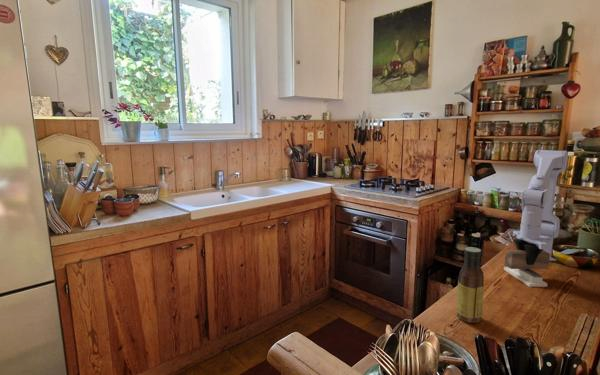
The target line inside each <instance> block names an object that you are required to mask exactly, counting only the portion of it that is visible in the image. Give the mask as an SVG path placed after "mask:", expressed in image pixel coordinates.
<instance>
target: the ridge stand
mask: <svg viewBox="0 0 600 375" xmlns="http://www.w3.org/2000/svg"><path fill="white" fill-rule="evenodd" d="M503 270H504V271H506V272H507V273H508V274H510V275H511V276H513V277H514V278H515V279H517V280H518V281H520V282H522V284H524V285H526V286H528V287H530V288H531V287H533V288H534V287H536V288H541V287H543V288H545V287H547V288H548V283H547V282H545V281H544V280H543V276H542V275H541V274H540V273H537V272H536V271H534V269H510V268H509V267H507V266H503Z"/></svg>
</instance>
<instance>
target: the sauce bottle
mask: <svg viewBox="0 0 600 375" xmlns="http://www.w3.org/2000/svg"><path fill="white" fill-rule="evenodd" d="M463 250H464V251H463V253H464V261H463V266H462V267H461V269H460V271H459V273H458V274H459V275H458V278H457V279H458V280H457V296H456V297H457V299H456V300H457V301H456V312H457V317H458V318H459V319H460V320H461V321H463V322H465V323H470V324H478V323H480V322H481V321H482V316H483V307H484V306H483V304H484V291H485V290H484V289H485V284H484V279H485V276H484V271H483V269H482V267H481V256H482V249H481V248H478V247H473V246H467V247H465V248H464V249H463Z"/></svg>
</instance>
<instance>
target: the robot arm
mask: <svg viewBox="0 0 600 375" xmlns="http://www.w3.org/2000/svg"><path fill="white" fill-rule="evenodd" d="M568 158H569V152H568V151H567V150H552V149H551V150H550V149H549V150H547V149H537V150H535V152H534V155H533V165H534V166H535V168H536V170H537V172H536V174H535V175H533V176H532V177H531V179H530V181H529V184H528V186H527V189H526V190H523V191H522V194H521V211H522V213H521V222H520V229H519V230H513V232H512V237H516V238H515V239H513V243H514V245H515V247H516V250H526V263H527V265H534V263H535V261H536V259H537V257H538V255H539V254H540V253H541V252H542V251H543V250H544V251H546V252H548V253H550V259H549V262H556V261H557V259H556V258H554V257H552V252H553V244H554V239H556V238H558V237H559V233H560V229H561V228H560V227H561V225H560V222H561V220H560V217H558V216H557V215H556V214H554V213H553V210H554V205H555V204H554V202H555V197H556V196H555V194H556V187H557V180H558V176H559V175H560V173H563V172H566V169H567V166H568Z"/></svg>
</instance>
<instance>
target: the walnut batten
mask: <svg viewBox="0 0 600 375" xmlns="http://www.w3.org/2000/svg"><path fill="white" fill-rule="evenodd" d="M549 259H550V253H548V252H546V251H544V250H543V251H542V252H541V253H540V254H539V255H538V257H537V259H536V261H535V263H534V265H527V263H526V250H517V249H506V250H505V259H504V266H505V267H509V268H510V269H531V270H548V269H549V264H550V261H549Z"/></svg>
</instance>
